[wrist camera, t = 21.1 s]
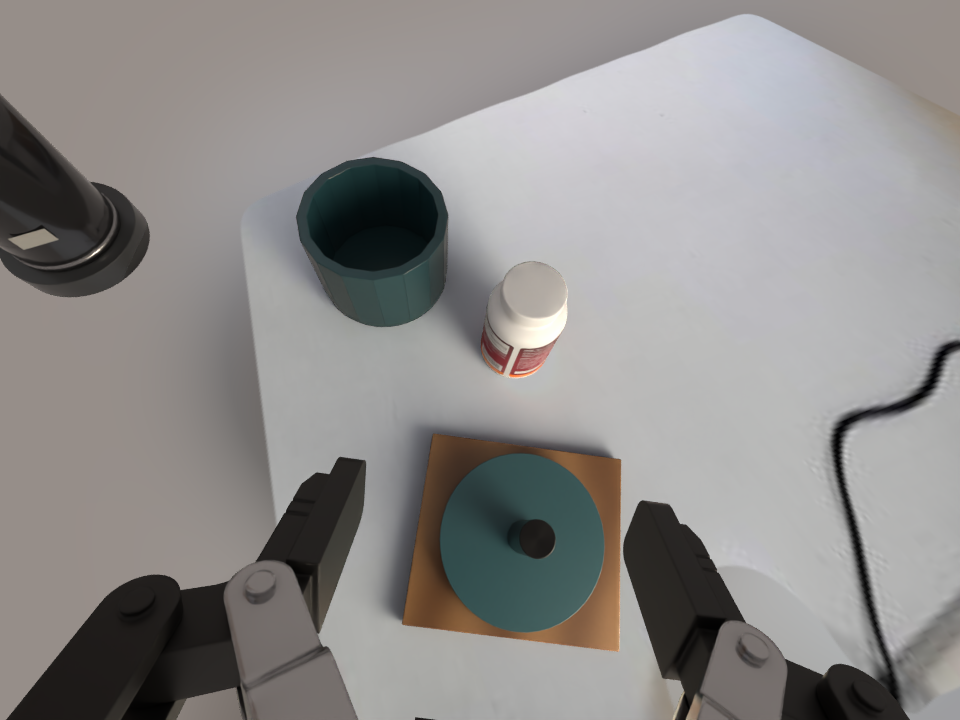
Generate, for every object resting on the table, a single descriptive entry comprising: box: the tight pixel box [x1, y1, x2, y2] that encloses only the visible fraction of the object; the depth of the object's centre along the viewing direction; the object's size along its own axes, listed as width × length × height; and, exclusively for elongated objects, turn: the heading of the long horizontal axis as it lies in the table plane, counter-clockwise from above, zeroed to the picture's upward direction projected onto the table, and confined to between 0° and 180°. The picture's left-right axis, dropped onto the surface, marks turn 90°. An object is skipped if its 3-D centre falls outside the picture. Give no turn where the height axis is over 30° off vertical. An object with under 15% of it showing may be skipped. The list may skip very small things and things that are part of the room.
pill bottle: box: [481, 262, 567, 378], centre depth 36 cm, size 6×6×11 cm
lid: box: [440, 453, 605, 633], centre depth 32 cm, size 13×13×7 cm
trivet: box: [402, 434, 621, 652], centre depth 35 cm, size 16×14×1 cm
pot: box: [296, 157, 448, 327], centre depth 39 cm, size 12×12×8 cm
